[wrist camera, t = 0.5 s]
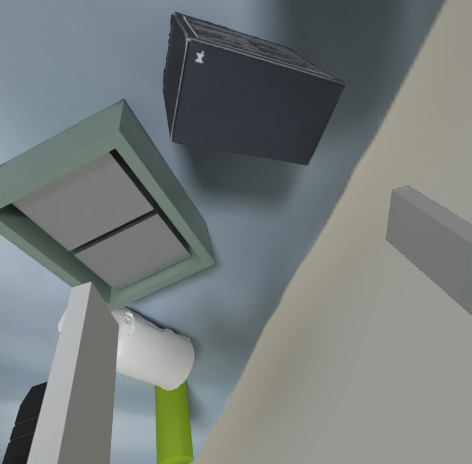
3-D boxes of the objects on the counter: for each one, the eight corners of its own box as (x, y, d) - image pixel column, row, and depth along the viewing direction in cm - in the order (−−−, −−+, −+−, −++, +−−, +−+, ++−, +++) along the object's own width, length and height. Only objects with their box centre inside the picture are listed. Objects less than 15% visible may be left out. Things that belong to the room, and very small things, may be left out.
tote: (123, 98, 27) (118, 130, 22) (205, 222, 38) (215, 263, 33) (0, 165, 29) (-33, 210, 23) (112, 267, 39) (107, 313, 34)
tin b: (156, 185, 32) (157, 213, 29) (186, 226, 37) (191, 256, 33) (81, 222, 33) (73, 255, 30) (119, 258, 37) (116, 291, 34)
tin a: (112, 125, 28) (107, 150, 24) (153, 180, 32) (153, 209, 28) (27, 171, 29) (10, 201, 25) (77, 218, 33) (69, 251, 29)
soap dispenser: (188, 389, 64) (201, 517, 49) (153, 392, 62) (155, 528, 47) (193, 374, 61) (209, 507, 46) (157, 377, 58) (160, 518, 43)
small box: (160, 96, 28) (165, 146, 20) (171, 9, 24) (183, 29, 16) (268, 120, 31) (308, 171, 24) (292, 47, 28) (350, 79, 20)
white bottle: (95, 274, 40) (86, 329, 34) (192, 328, 51) (198, 376, 45) (53, 306, 41) (37, 363, 35) (156, 351, 53) (157, 399, 47)
